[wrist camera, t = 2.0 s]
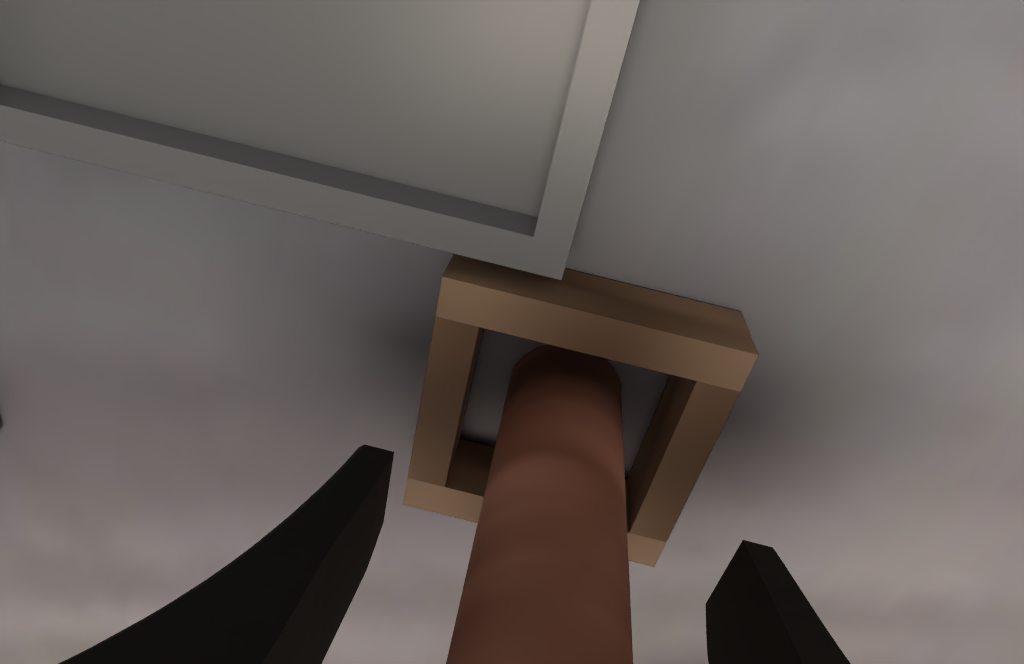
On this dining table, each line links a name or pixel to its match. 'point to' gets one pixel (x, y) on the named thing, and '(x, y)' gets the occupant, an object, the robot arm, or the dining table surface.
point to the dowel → (552, 523)
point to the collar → (592, 330)
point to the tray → (335, 107)
